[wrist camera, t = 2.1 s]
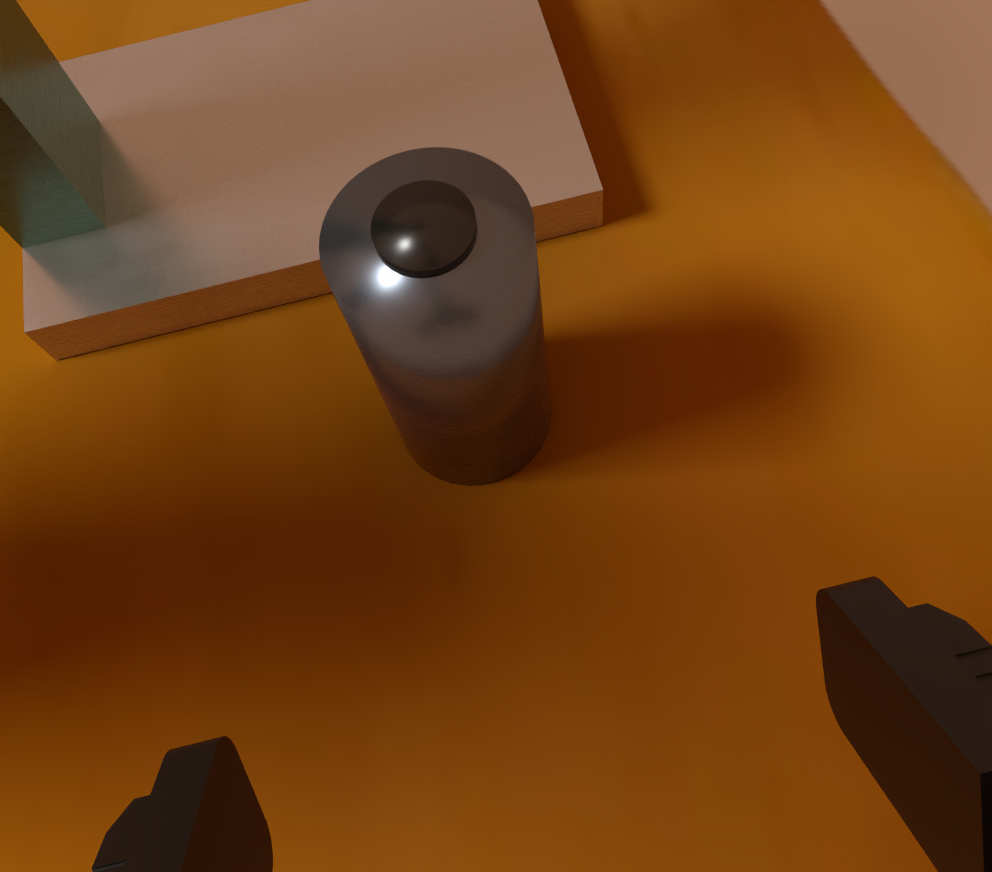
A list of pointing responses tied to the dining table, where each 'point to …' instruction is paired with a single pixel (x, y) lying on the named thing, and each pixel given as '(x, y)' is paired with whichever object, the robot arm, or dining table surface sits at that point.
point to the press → (257, 151)
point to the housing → (445, 307)
